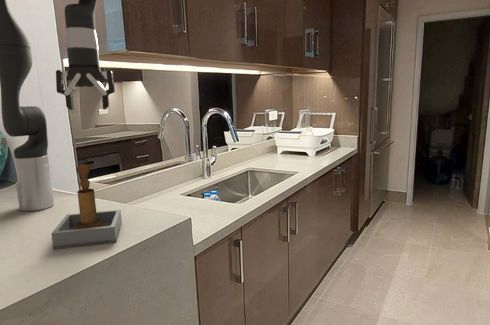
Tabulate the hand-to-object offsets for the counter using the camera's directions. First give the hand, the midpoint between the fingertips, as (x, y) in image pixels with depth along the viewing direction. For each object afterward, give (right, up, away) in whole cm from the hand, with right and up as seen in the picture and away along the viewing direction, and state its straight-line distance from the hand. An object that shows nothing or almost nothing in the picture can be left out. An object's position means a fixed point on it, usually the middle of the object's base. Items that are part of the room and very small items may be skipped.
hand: (88, 109), depth 94 cm
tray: (+3, -33, -4) cm, 34 cm away
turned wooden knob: (+3, -33, -5) cm, 33 cm away
